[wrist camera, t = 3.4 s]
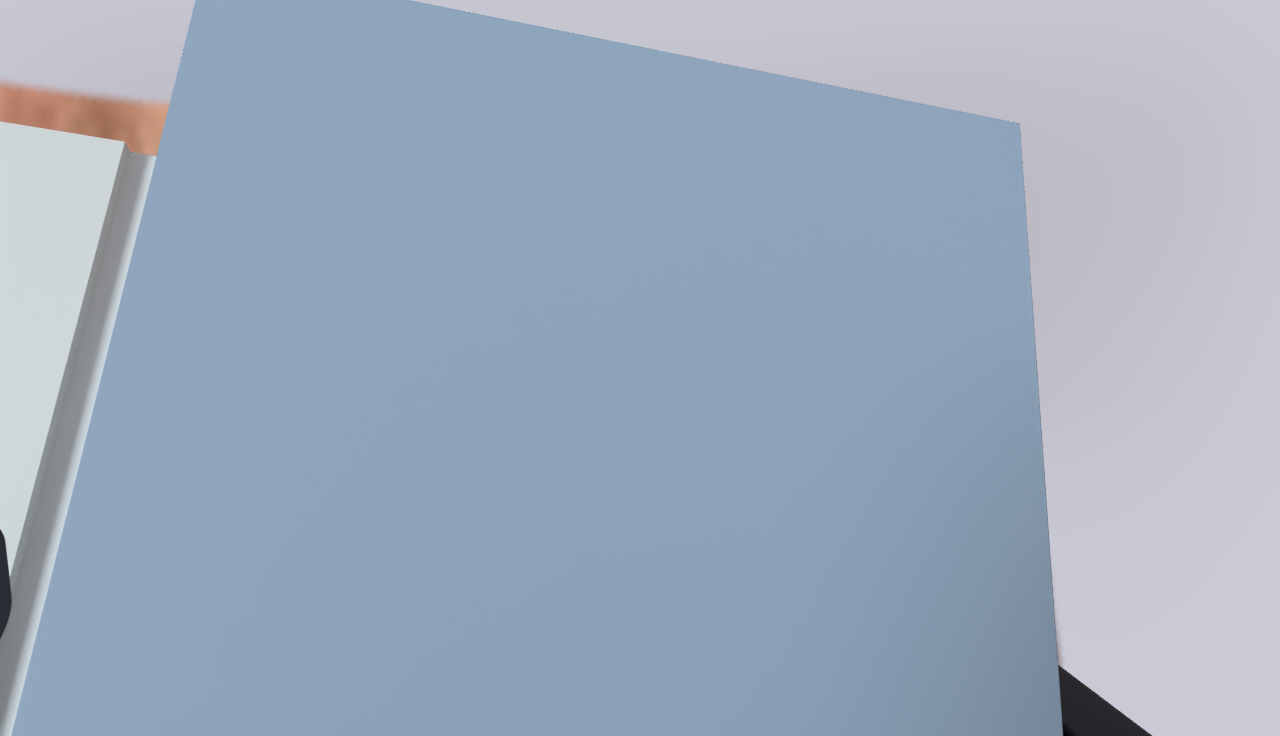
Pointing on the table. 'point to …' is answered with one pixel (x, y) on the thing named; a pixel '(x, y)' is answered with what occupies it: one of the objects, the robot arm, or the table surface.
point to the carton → (53, 344)
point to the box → (554, 403)
